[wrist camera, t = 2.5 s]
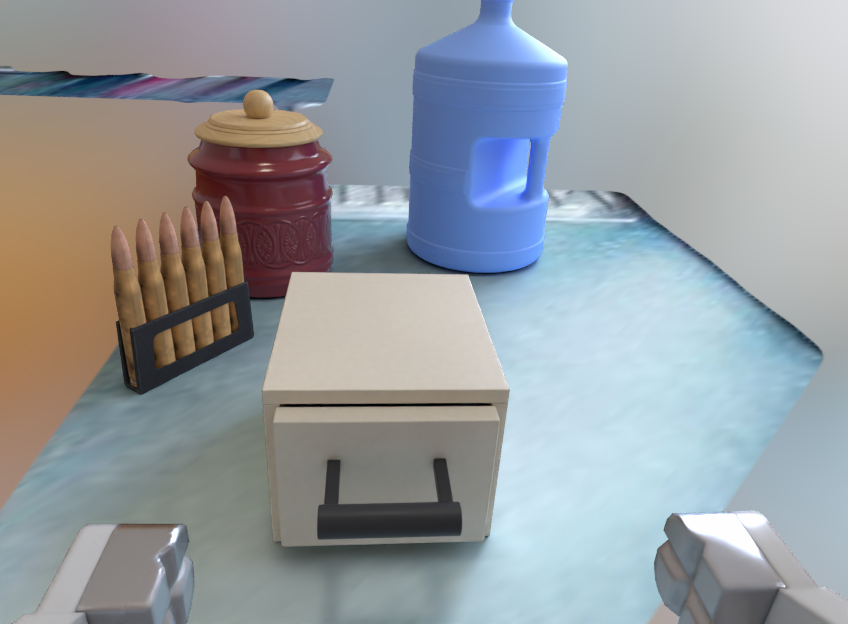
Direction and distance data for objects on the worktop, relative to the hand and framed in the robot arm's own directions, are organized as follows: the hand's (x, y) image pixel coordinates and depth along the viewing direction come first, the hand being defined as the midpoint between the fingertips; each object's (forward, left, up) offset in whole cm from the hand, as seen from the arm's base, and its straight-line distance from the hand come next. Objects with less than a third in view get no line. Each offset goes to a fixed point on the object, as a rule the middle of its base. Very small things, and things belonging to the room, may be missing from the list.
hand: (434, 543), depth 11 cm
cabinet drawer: (+10, -17, -17) cm, 26 cm away
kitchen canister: (+35, -40, -18) cm, 56 cm away
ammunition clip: (+30, -24, -18) cm, 42 cm away
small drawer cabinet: (+12, -21, -18) cm, 30 cm away
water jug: (+20, -58, -18) cm, 63 cm away
